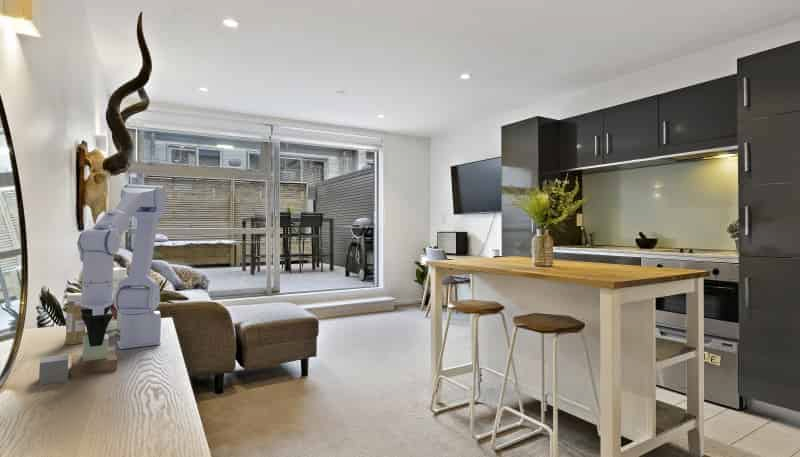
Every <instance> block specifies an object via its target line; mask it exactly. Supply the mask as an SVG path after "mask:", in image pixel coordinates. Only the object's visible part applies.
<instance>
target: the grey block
mask: <svg viewBox="0 0 800 457" xmlns="http://www.w3.org/2000/svg"><path fill="white" fill-rule="evenodd" d="M68 369H69V354H59V355H52V356H51V355H50V356H42V357H40V361H39V369H38V370H39V372H38V373H39V375H38V376H39V377H38V385H39V386H41V385H42V386H43V385H49V384H54V383H61V382H68V371H69V370H68Z"/></svg>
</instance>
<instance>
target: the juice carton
mask: <svg viewBox="0 0 800 457" xmlns="http://www.w3.org/2000/svg"><path fill="white" fill-rule="evenodd" d="M126 277H127V268H126V267H116V266H113V288H112V300H113V299H114V295H115V292H116V290H117V287H118V283H119V282H120V281H122V280H123V279H125V278H126ZM107 314H113V317H112V319H111V320H110V322H109V324H108V326H107V329H106V332H105V333H108V332H112V331H115V330H116V328H117V309H116V308H115V307H114V303H113V304H112V305H110V309H109V311H108V313H107Z"/></svg>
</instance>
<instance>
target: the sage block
mask: <svg viewBox="0 0 800 457" xmlns="http://www.w3.org/2000/svg"><path fill="white" fill-rule="evenodd" d="M109 340H110V338H109V335H108V333H105V336H104V340H103V343H102V345H101V346H93V347H90V344H89V339H88V335H85V336H83V343H82V353H81V354H82V357H83V361H90V360H98V359H105V358H108V351H109V342H110V341H109Z"/></svg>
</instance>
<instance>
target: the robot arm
mask: <svg viewBox="0 0 800 457" xmlns="http://www.w3.org/2000/svg"><path fill="white" fill-rule="evenodd" d="M119 198H120V200H119V202H118V204H117V205H116V207H115V208H114V209H111V210H107V212H105V213H104V215H102V216H101V217H100V219H99V220H98V222H96V224H94V225H93V227H92V228H87V229H86V230H84V231H82V232H81V233H79V236H78V240H77V241H76V244H77V249H78V252H79V260H80V262H82V273H81V274H82V275H81V292H80V293H81V302H75V304H74V306H81V307H85V308H82V309H80V311H81V312H82V315H81V317H82V319H83V321H84V323H85V325H86V333H87V336H88V339H89V344H90V347H93V346H101V345H102V343H103V340H104V336H105V334H106V333H107V332H106V329H107V326H108V324H109V322H110V320H111V319H112V317H113V314H107V313H108V311H109V309H110V305H112V304H113V303H114V307H115V308H116V309H117V310H119V312H118V313H121V331H120V335H119V337H120V338H119V340H117V341H116V344H117V347H118V348H119V350H124V349H133V348H141V347H149V346H158V345H161V329H162V326H161V325H162V316H161V312H160V310H157V308H158V307H159V305H160V302H161V301H160V300H161V293H160V291H161V290H160V288H161V287H160V284H159V282H158V281H157V280H155V279H154V278H153V277H152V276H151V271H152V265H153V259H154V258H153V256H154V251H155V250H154V249H155V242H156V235H157V228H158V221H159V219H160V218H162V217H164V215H165V211H166V205H167V192H166V189H165V188H164V186H162V185H149V184H148V185H146V184H145V185H144V184H131V183H125V184H124V185H123V186H122V188H121V190H120V196H119ZM131 217H134V218H135V219H136V221H137V222H136V223H137V224H136V230H135V236H134V244H133V250H132V255H131V261H130V262H131V263H130V268H129V275H128V276H126V278H125V279H123V280H122V281H120V282H119V283H118V287H117V290H116V292H115V295H114V299H113V300H112V288H113V267H114V260H115V257H114V256H115V254H116V253H118V252H119V250H120V246H121V242H122V240H123V238H122V236H123V235H124V233H126V230H127V229H128V228H129V226H131V221H130V218H131ZM131 287H145V288H131Z"/></svg>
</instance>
